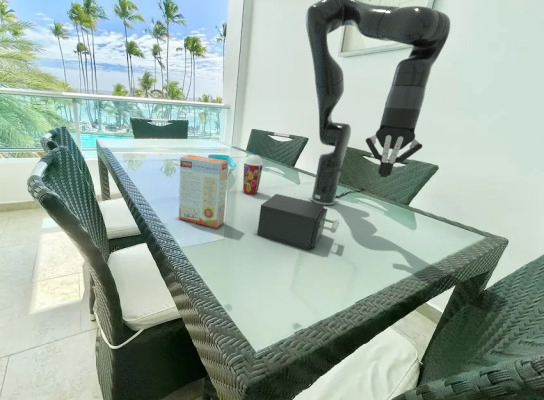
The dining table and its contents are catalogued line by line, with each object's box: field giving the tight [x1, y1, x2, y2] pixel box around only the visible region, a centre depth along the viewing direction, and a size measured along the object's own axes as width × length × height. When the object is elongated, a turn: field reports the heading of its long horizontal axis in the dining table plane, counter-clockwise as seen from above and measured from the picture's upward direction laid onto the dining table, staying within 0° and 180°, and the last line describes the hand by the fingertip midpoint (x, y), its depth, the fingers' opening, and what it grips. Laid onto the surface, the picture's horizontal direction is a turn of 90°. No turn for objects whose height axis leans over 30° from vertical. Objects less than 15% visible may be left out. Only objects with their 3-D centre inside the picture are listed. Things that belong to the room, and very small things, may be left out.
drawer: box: [310, 207, 340, 249], centre depth 82 cm, size 19×13×8 cm, turn 61°
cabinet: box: [256, 193, 325, 251], centre depth 84 cm, size 16×14×10 cm
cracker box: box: [178, 154, 229, 229], centre depth 86 cm, size 14×6×21 cm, turn 65°
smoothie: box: [242, 147, 264, 195], centre depth 120 cm, size 8×8×20 cm
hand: (383, 176), depth 71 cm, fingers closed
